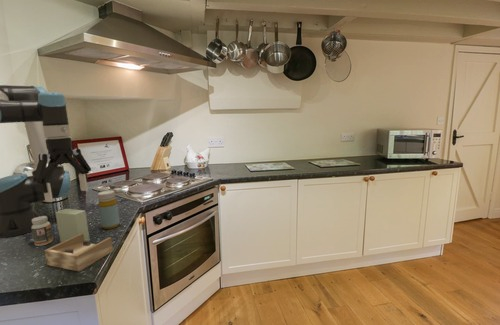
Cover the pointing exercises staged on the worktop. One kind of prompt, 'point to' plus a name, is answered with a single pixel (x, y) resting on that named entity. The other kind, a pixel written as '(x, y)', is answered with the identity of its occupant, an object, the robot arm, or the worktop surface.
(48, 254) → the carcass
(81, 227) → the door
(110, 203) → the bottle
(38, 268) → the worktop surface
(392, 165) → the worktop surface
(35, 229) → the pill bottle
